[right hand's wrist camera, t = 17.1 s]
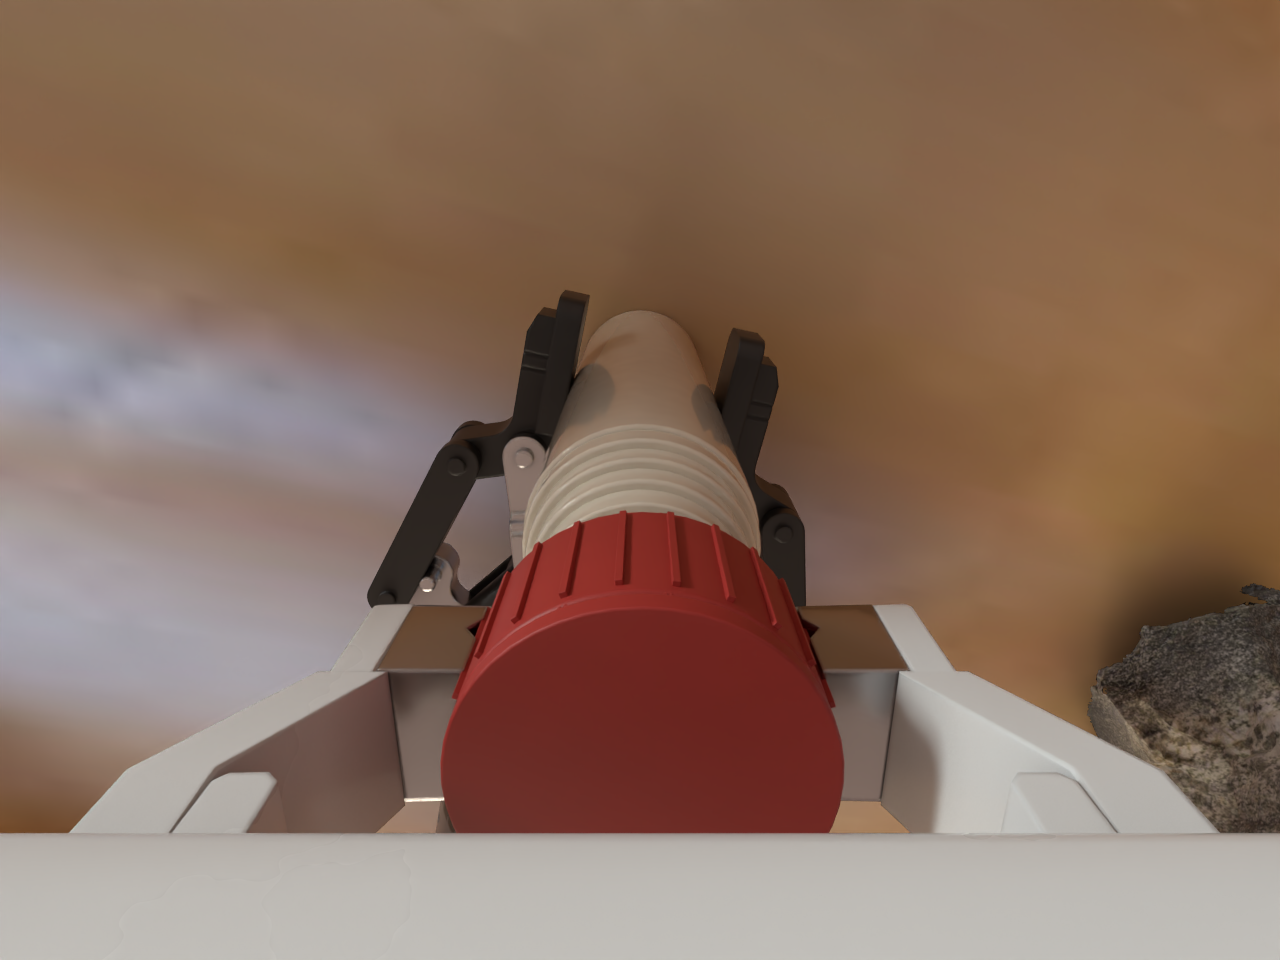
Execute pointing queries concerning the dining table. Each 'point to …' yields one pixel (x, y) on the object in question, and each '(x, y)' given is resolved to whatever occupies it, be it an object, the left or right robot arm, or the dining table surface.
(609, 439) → the bottle
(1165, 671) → the rock
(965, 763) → the right robot arm
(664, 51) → the dining table surface
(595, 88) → the dining table surface
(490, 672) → the cap
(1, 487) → the dining table surface
